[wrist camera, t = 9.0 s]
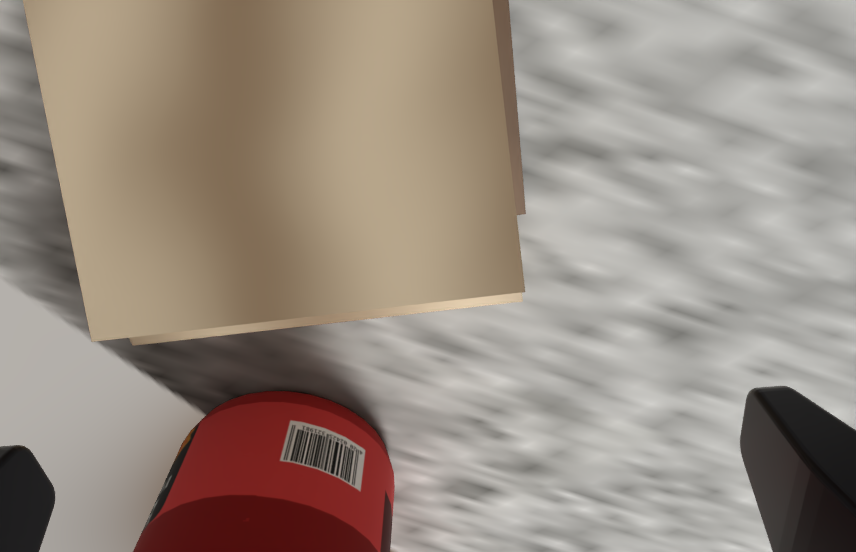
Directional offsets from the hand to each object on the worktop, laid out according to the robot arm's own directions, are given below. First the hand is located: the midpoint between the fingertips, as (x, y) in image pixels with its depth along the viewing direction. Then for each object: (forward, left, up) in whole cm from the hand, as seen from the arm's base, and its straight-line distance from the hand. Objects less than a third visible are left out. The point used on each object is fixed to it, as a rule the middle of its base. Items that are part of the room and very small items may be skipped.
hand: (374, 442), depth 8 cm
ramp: (+3, -3, -12) cm, 12 cm away
